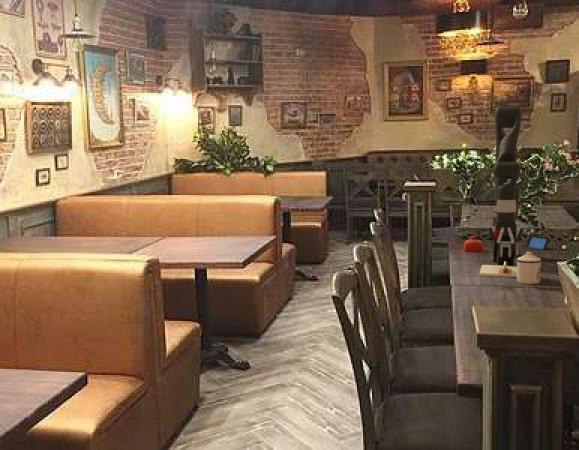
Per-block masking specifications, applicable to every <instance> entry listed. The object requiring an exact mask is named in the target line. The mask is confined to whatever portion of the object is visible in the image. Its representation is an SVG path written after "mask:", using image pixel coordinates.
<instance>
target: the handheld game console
mask: <svg viewBox="0 0 579 450" xmlns="http://www.w3.org/2000/svg"><path fill="white" fill-rule="evenodd" d="M549 242H550V238H549V237H545V236H544V237H542V236H537V235H536V236H535V235H534V236H533V235H530V236H529V237H528V239H527V242H526V245H525V248H527V247H529V248H528V249H534V248H537V249H536V250H541V249H542V251H546V249H547V247H548V244H549Z"/></svg>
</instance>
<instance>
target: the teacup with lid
mask: <svg viewBox="0 0 579 450" xmlns="http://www.w3.org/2000/svg"><path fill="white" fill-rule="evenodd" d="M516 260H517V265H516V266H517V277H516V282H518V283H519V284H524V285H525V284H526V285H536V284H537V285H538V284H540V283H541V270H542V269H541V266H542V259H541V258H540V257H537V256H536V255H534V254H533V252H531V251H526V253H525V254H524V255H522V256H517V259H516Z"/></svg>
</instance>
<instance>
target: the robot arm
mask: <svg viewBox="0 0 579 450" xmlns="http://www.w3.org/2000/svg"><path fill="white" fill-rule="evenodd" d="M522 114H523V113H522V108H521V107H520V106H515V105H513V106H512V105H510V106H507V105H506V106H505V105H504V106H497V107H496V109H495V111H494V129H495V164H494V165H493V170H492V174H493V176H494V178H495V189H494V190H495V191H494V200H495V203H496V217H497V223H496V225H495V226H494V227H493V226H489V228H488V231H489V233H490V238H491V241H492V243H493V242H496V243H497V251H499V252H500V240H501V237H502V235H503V236H504V235H507V236H510V239H511V253H513V251H514V246H515V243H516V242H517V257H519V255H518V253H519V242H520V240H521V236H522V234H523V231H524V228H523V227H520V226H519V227H517V225H516V223H518V224H519V207H520V205H519V203H520V188H519V186H518V185H517V184H518V181H519V177H520V174H521V170H522V169H521V165H520V163H518V151H517V150H518V141H519V136H520V131H521V125H522V119H523V118H522V117H523V116H522ZM510 128H511V129H510ZM504 129H510V131H509V132H508V133H507V134H506V132H505V130H504ZM506 180H510V181H509V182H508V183H507V184H504V183H505V181H506ZM495 229H496V230H497V231H498V232H499V236H498V239H495V236H494V231H495ZM516 229H517V239H515V240H514V237H513V232H514V231H515V230H516Z"/></svg>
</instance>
